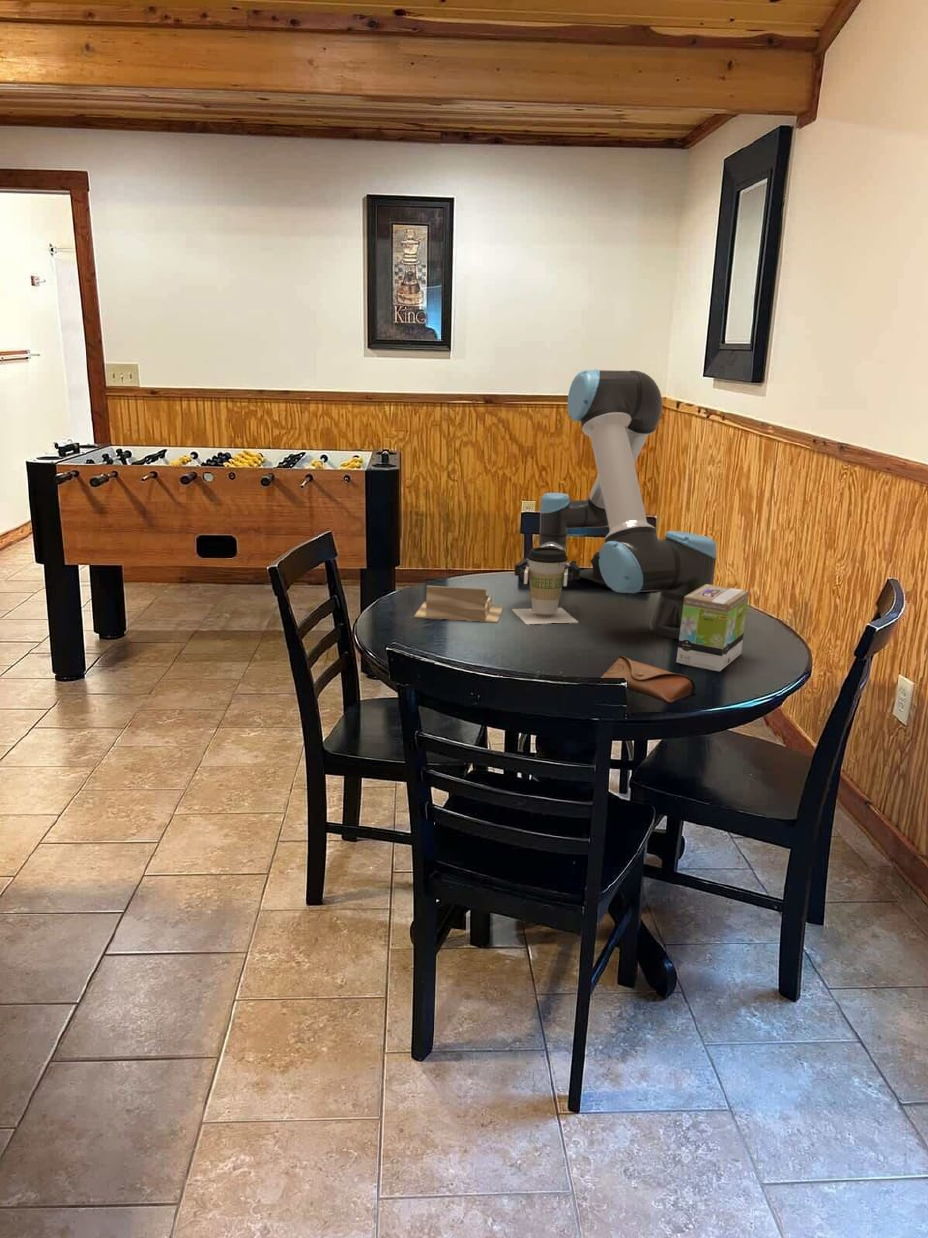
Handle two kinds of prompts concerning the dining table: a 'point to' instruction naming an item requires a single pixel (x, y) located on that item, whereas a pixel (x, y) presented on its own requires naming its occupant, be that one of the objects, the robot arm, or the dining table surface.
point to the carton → (458, 605)
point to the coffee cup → (546, 578)
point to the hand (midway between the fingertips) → (545, 579)
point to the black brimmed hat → (594, 571)
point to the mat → (544, 617)
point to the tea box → (712, 627)
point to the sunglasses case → (651, 680)
